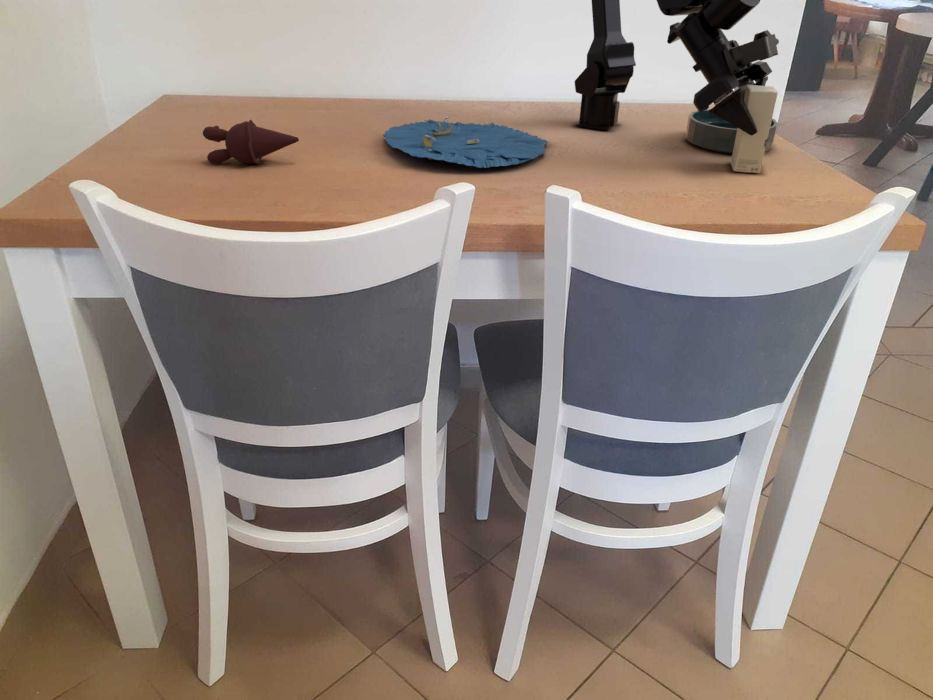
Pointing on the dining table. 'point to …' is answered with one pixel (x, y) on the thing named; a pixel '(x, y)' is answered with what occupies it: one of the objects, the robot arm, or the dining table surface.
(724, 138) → the bowl
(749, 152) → the box
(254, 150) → the icecream
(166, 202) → the dining table surface
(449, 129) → the decorative plate
